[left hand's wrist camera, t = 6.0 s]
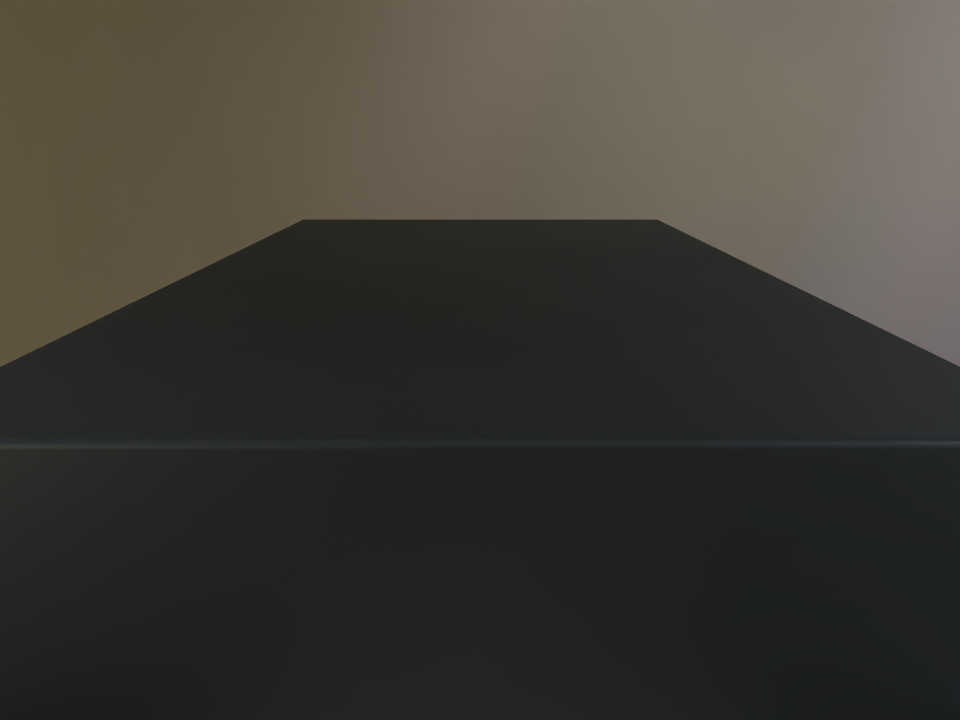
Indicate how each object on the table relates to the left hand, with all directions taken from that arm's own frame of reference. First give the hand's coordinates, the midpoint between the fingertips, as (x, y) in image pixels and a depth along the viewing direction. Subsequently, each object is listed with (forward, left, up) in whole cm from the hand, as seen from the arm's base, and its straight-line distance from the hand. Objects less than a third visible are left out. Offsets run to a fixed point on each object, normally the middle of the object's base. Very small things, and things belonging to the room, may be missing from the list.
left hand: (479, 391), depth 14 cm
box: (+3, +10, -1) cm, 10 cm away
